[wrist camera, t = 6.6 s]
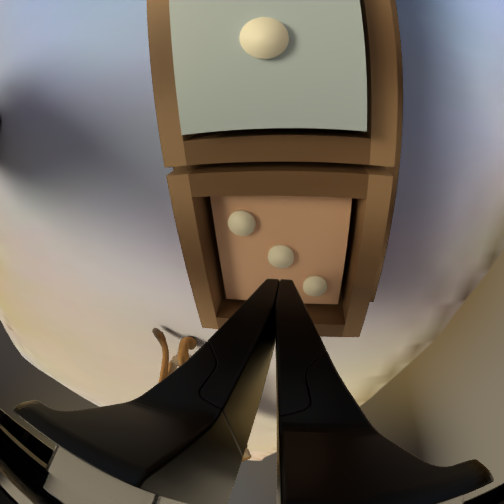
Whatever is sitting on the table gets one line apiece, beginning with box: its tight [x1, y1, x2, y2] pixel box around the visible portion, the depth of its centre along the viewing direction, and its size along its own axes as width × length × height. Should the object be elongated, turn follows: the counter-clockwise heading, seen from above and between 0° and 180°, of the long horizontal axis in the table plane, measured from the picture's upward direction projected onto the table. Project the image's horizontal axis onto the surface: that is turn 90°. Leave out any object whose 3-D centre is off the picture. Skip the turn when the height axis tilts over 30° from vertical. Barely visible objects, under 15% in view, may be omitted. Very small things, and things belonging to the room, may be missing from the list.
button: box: [169, 0, 367, 135], centre depth 6 cm, size 5×5×2 cm
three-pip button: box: [210, 196, 352, 304], centre depth 11 cm, size 5×5×2 cm
